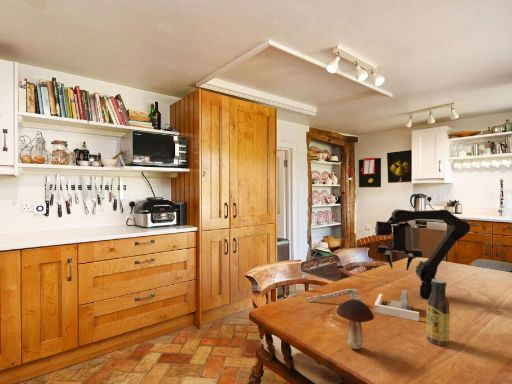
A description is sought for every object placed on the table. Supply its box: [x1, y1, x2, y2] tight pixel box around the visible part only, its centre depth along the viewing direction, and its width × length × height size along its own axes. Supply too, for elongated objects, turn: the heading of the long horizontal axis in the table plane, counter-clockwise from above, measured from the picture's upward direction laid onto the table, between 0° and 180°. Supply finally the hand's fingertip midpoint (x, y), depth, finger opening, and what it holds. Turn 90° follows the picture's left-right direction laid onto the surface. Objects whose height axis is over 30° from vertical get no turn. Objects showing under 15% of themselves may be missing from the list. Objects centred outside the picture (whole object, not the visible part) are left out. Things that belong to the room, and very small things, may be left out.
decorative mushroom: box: [336, 298, 375, 350], centre depth 87 cm, size 11×11×15 cm
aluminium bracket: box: [390, 289, 409, 310], centre depth 117 cm, size 8×6×6 cm
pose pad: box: [386, 301, 412, 311], centre depth 116 cm, size 9×11×1 cm
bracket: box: [306, 288, 363, 303], centre depth 123 cm, size 3×21×10 cm, turn 80°
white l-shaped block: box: [373, 293, 420, 322], centre depth 116 cm, size 16×15×3 cm
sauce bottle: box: [425, 278, 450, 346], centre depth 91 cm, size 6×6×20 cm
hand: (399, 269), depth 132 cm, fingers open, 6 cm apart
